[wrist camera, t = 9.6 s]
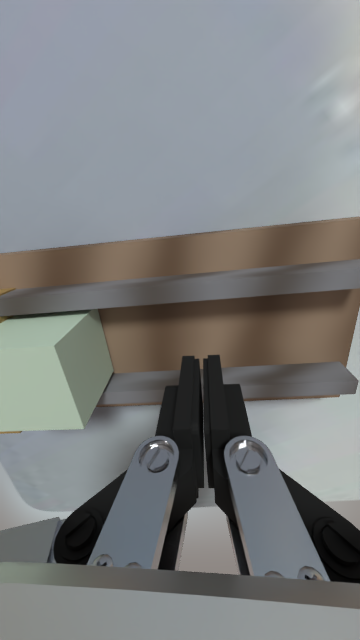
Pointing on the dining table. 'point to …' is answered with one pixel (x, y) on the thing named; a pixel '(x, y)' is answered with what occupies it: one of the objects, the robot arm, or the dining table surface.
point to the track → (208, 306)
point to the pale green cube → (52, 370)
